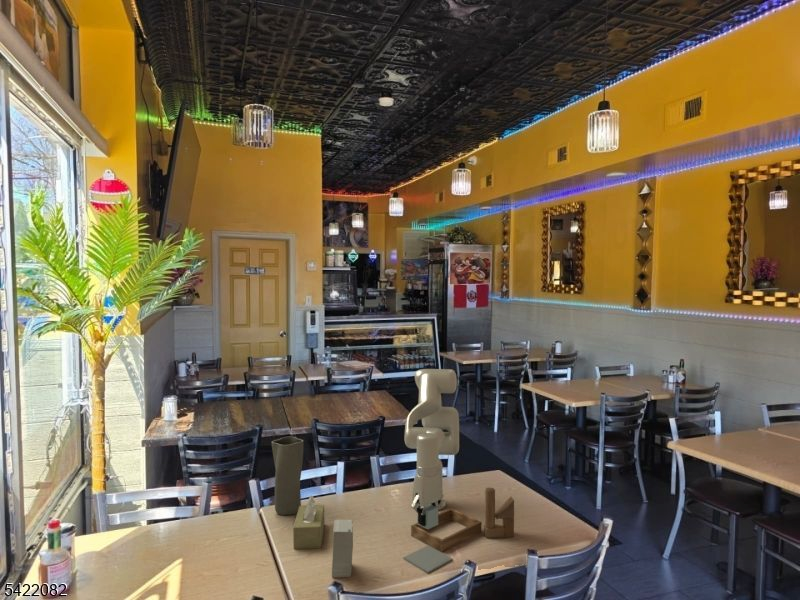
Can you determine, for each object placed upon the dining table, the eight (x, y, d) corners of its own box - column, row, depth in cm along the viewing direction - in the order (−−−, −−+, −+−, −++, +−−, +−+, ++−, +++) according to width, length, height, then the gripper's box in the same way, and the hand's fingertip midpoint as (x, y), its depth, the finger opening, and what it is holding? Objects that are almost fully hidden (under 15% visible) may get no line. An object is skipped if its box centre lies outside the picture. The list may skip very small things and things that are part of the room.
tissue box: (320, 548, 184) (320, 505, 184) (293, 550, 183) (292, 506, 183) (324, 524, 203) (324, 485, 202) (299, 525, 202) (299, 486, 202)
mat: (403, 558, 177) (403, 557, 177) (427, 546, 185) (427, 545, 185) (427, 573, 168) (427, 571, 168) (452, 560, 176) (452, 558, 176)
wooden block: (514, 536, 192) (514, 489, 191) (486, 538, 191) (486, 491, 190) (511, 532, 195) (511, 486, 195) (483, 533, 194) (483, 487, 194)
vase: (309, 511, 214) (308, 441, 213) (282, 520, 206) (281, 447, 205) (294, 502, 223) (293, 434, 222) (268, 510, 215) (267, 440, 214)
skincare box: (332, 564, 173) (332, 519, 173) (353, 563, 174) (353, 518, 173) (331, 579, 165) (330, 531, 164) (353, 577, 166) (353, 530, 165)
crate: (411, 535, 193) (411, 525, 193) (450, 517, 207) (450, 508, 207) (441, 552, 181) (441, 541, 181) (481, 532, 196) (481, 521, 195)
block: (417, 524, 176) (417, 507, 176) (427, 519, 179) (427, 502, 179) (427, 529, 172) (427, 511, 172) (438, 524, 175) (438, 507, 175)
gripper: (437, 461, 184) (437, 511, 184) (401, 473, 172) (402, 526, 173) (452, 467, 178) (452, 518, 179) (417, 479, 167) (417, 534, 167)
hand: (427, 521), depth 176 cm, fingers closed on block, 5 cm apart
